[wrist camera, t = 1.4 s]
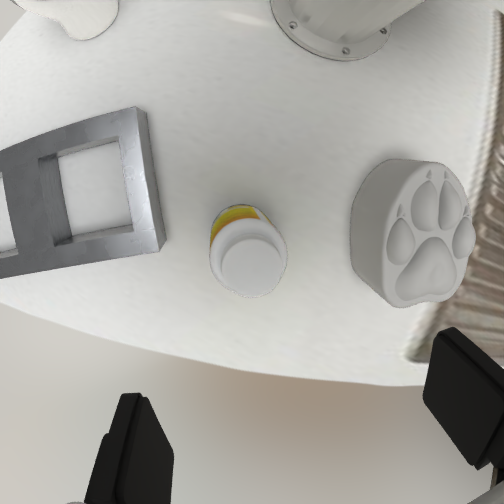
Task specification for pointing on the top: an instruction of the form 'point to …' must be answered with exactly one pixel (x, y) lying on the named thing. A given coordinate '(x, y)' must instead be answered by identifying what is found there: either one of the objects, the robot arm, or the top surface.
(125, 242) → the cinder block
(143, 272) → the top surface
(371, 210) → the lumpy-topped squat cylinder
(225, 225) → the supplement bottle
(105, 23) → the beer glass
